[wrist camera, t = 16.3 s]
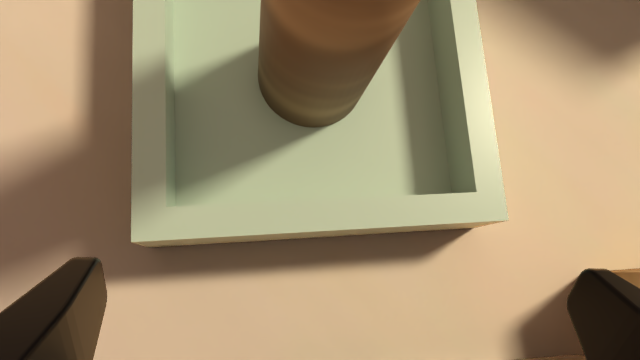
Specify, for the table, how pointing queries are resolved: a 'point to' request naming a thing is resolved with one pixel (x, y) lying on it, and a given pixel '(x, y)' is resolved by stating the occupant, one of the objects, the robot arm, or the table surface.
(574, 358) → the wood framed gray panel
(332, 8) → the walnut dowel
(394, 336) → the table surface
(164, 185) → the tray
